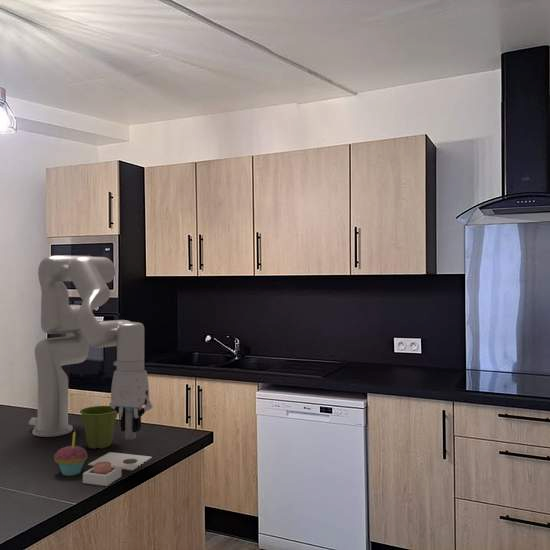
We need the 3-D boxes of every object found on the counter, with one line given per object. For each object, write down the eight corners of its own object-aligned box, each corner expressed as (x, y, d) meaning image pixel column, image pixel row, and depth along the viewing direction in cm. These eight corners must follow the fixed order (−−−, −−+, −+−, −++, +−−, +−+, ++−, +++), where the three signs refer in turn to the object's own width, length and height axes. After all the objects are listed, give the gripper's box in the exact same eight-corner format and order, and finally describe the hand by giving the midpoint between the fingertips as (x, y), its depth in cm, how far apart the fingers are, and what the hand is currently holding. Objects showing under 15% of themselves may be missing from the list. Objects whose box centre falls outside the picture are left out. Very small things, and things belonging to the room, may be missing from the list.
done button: (90, 475, 149) (90, 466, 149) (99, 470, 153) (99, 460, 153) (105, 477, 147) (105, 468, 147) (114, 472, 152) (114, 462, 152)
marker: (122, 438, 162) (122, 399, 162) (128, 435, 165) (128, 397, 165) (132, 439, 161) (132, 400, 161) (138, 436, 164) (138, 398, 164)
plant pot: (126, 441, 183) (126, 406, 183) (105, 453, 172) (106, 415, 171) (93, 438, 186) (93, 403, 186) (71, 449, 175) (71, 412, 175)
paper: (88, 465, 161) (88, 463, 161) (109, 453, 172) (109, 451, 172) (132, 470, 157) (132, 469, 157) (151, 457, 168) (152, 456, 168)
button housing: (82, 483, 148) (82, 473, 148) (98, 473, 155) (98, 464, 155) (106, 486, 146) (106, 476, 146) (121, 476, 153) (121, 467, 153)
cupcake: (93, 472, 155) (93, 428, 155) (63, 481, 149) (64, 435, 149) (77, 465, 161) (77, 422, 161) (47, 472, 155) (48, 428, 155)
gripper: (98, 366, 162) (98, 431, 162) (150, 369, 158) (150, 436, 158) (112, 362, 169) (112, 425, 169) (162, 365, 165) (162, 429, 165)
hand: (130, 429), depth 163 cm, fingers closed on marker, 3 cm apart
